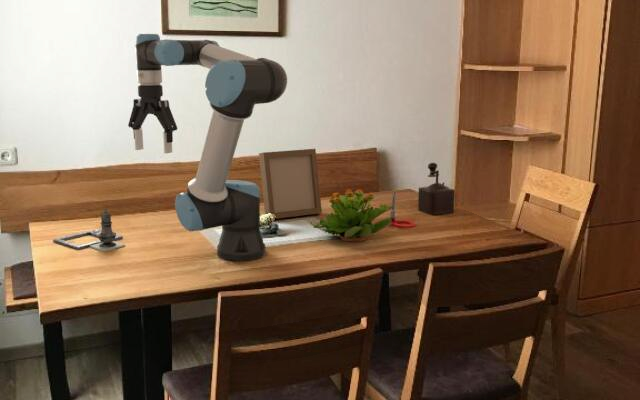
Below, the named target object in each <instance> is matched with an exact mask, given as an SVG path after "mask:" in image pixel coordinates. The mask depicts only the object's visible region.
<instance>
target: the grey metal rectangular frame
mask: <svg viewBox="0 0 640 400" xmlns="http://www.w3.org/2000/svg"><path fill="white" fill-rule="evenodd" d="M101 231H102V229H99V228H96V229H92V230H86V231H83V232H78V233H73V234H71V235H66V236H62V237H57V238H53V239H52V241H53V243H57V244H59V245H63V246H66V247H69V248H72V249H74V250H77V251H79V250H82V249H87V248H91V247H90V246H91V245H94V244H98V243H102V242H101V241H100V240H99V239H98V240H95V241H92V242H87V243H84V244H80V245H79V244H76V243H73V242H70V241H68V240H71V239H76V238H80V237H83V236H84V237H85V236H93V237H96V238H99V237H98V236H97V235H98V234H99V233H101ZM123 238H124V237H123V235H121V234H118V233H116V237H115V240H114V241H117V240H121V239H123Z"/></svg>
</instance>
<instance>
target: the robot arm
mask: <svg viewBox="0 0 640 400" xmlns="http://www.w3.org/2000/svg"><path fill="white" fill-rule="evenodd" d="M134 48H135V58H136V62H135V63H136V75H137V83H138V86H137V94H138V97H140V98H134V99H133V106H132V109H131V113H130V118H129V121H128V125H127V126H128V128H131V129H132V130H133V131H132V132H133V139H134V148H135V151H141V150H144V136H143V128H142V125H143V124H144V122H145V120H146V118H147V116H148V115H153V116H155V117H156V119H157V120H158V122H159V124H160V125H161V127H162V129H163V132H162V133H163V152H164V154H172V153H173V141H174V140H173V132H175V131H177V130H178V125H177V124H176V121H175V118H174V115H173V113H172V110H171V108H170V101H169V100H168V99H166V100H165V99H164V100H162V97H163V95H164V93H163V91H164V90H163V85H162V83H163V73H162V66H165V67H172V66H173V67H174V66H196V65H197V66H201V67H203V68H205V69H206V68H207V69H209V70H208V72H207V75H206V78H205V83H204V84H205V85H204V88H206V90H205V95H206V96H205V97H206V99H207V101H209V105H210V108H211V109H212V111H213V112H212V114H211V119H210V123H209V125H208V130H207V133H206V138H205V140H204V144H203V145H204V146H203V149H202V152H201V156H200V160H199V164H198V168H197V171H196V176H195V178H192V179H191V180H190V181H189V182H188V184H187V185H188V186H187V188H186V191H184V192H183V191H182V192H180V193H178V194H177V195H176V197H175V200H174V204H175V205H174V207H175V212H176V216H177V220H179V223H180V224H181V226H182V227H183V229H185V230H186V231H189V232H199V231H203V230H204V231H205V230H208V229H213V228H218V227H221V228H222V229H221V233H220V237H219V241H218V244H217V247H216V255H217V257H218V258H220V259H223V260H226V261H234V262H245V261H246V262H247V261H253V260H257V259H261V258H263V257H265V255H266V253H267V252H266V249H267V247H266V244H265V242H264V238H263V236H262V235H263V234H262V231H261V218H260V217H261V214H260V213H261V210H260V209H261V205H260V201H261V194H260V187H259V185H258V184H257V183H255V182H253V181H247V180H239V179H238V180H237V179H228V177H229V172H230V170H231V166H232V162H233V159H234V157H235V153H236V148H237V145H238V142H239V138H240V136H241V132H242V129H243V126H244V125H243V124H244V121H245V120H247V119H249V118H250V117H252V114H253V111H254V108H255V106H256V105H261V104H269V103H272V102H275V101H277V100H278V99H280V98H281V97H282V96H283V94H284V93H285V91H286V89H287V85H288V74H287V72H286V70H285V69H284V67H283V66H282V65H281V64H280V62H277V61H274V60H272V59H268V58H265V57H258V58H254V57H252V56H249V55H246V54H242V53H240V52H236V51H233V50H232V49H228V48H225V47H222V46H220V44H219V43H218V42H217V41H215V40H210V39H204V40H203V39H202V40H201V39H200V40H199V39H196V40H193V39H192V40H189V39H188V40H187V39H185V40H184V39H168V38H167V39H161V36H160V35H159V34H158V33H139V34H138V33H137V34H136V35H135V45H134Z"/></svg>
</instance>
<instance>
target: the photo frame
mask: <svg viewBox="0 0 640 400" xmlns="http://www.w3.org/2000/svg"><path fill="white" fill-rule="evenodd" d="M316 153H317V152H316V148H308V149H305V148H304V149H291V150H282V151H281V150H279V151H267V152H260V153H258V160H259V169H260V179H261V189H262V198H263V207H264V215H265V214H268V213H271V214H274V215H275V216H276V220H277V219H282V218H283V219H285V218H292V217H293V218H294V217H299V216H306V215H316V214H323V210H322V203H321V202H322V201H321V199H322V198H321V189H320V180H319V171H318V160H317V154H316Z"/></svg>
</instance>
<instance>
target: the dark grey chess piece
mask: <svg viewBox="0 0 640 400" xmlns="http://www.w3.org/2000/svg"><path fill="white" fill-rule="evenodd" d="M111 217H112V216H111V213H110V212H109V211H107V208H105V209H104V211H103V212H101V214H100V219H101V222H100V223H99V224H100V226H101V230H102V231H101V233H99V234H98V235H97V236H98V237H97V238H98V241H99V240H100V241H101V242H103V243H101V244H100V245H99V246H100V247H103V248H108V247H113V246H116V243H114V242H113V241H116V240H115V237H116V234H117V233H116V232H114V231H113V228H112V224H113V222H112V218H111Z"/></svg>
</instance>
